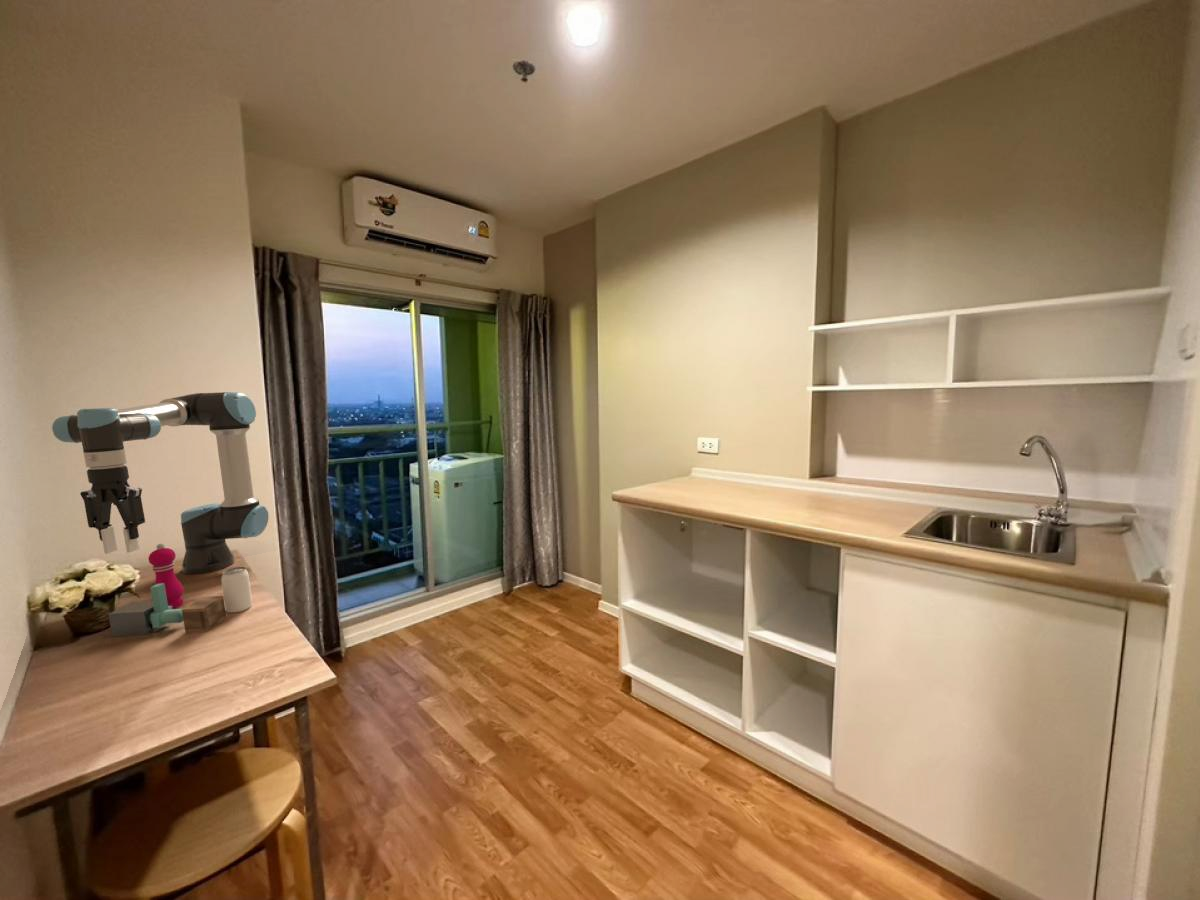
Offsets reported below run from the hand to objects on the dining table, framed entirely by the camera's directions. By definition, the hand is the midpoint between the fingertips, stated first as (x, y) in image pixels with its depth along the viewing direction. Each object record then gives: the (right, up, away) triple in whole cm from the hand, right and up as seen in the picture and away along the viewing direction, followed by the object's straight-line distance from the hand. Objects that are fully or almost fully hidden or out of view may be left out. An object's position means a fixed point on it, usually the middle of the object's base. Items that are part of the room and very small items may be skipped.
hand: (122, 551), depth 128 cm
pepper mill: (-2, -21, +17) cm, 27 cm away
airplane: (+5, -21, +3) cm, 22 cm away
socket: (+19, -22, +4) cm, 30 cm away
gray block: (+2, -22, +3) cm, 23 cm away
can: (+21, -21, +14) cm, 33 cm away
